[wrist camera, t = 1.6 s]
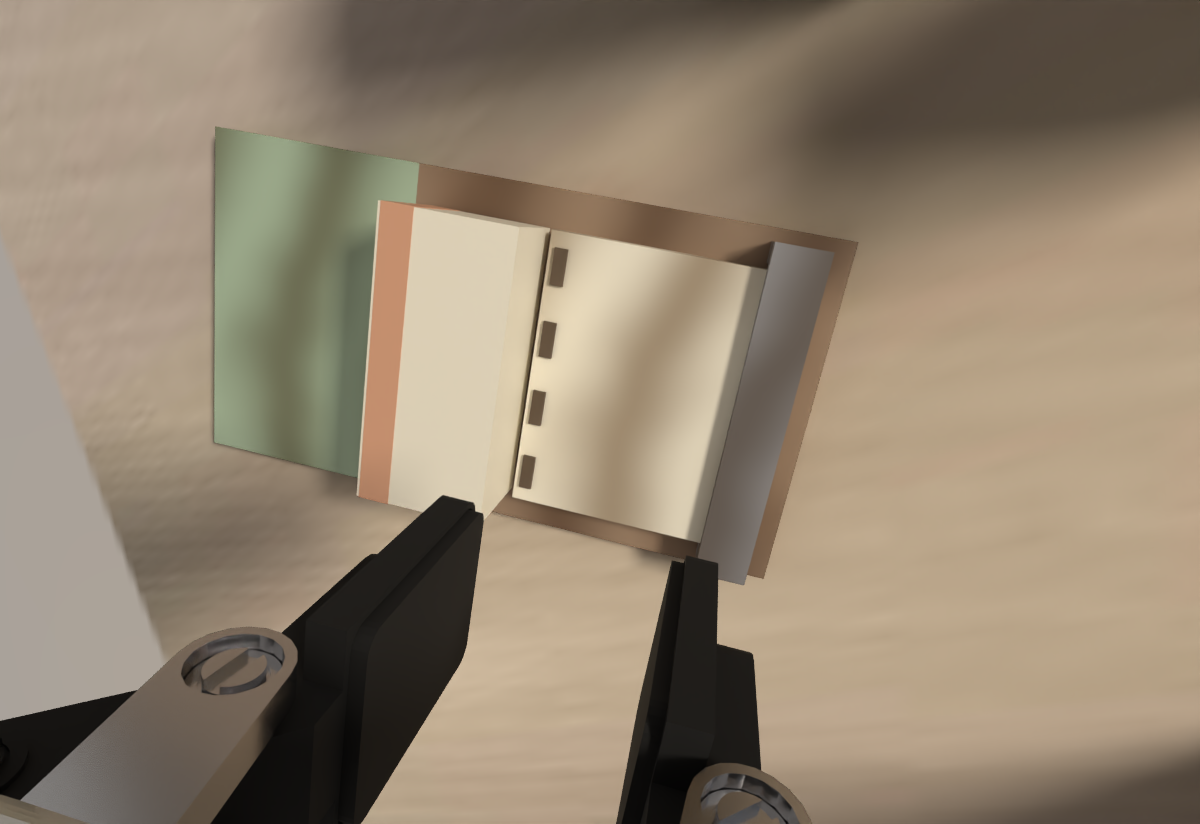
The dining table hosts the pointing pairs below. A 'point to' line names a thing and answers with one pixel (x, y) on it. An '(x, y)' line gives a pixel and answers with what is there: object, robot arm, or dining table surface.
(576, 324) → the board
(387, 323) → the stub
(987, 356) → the dining table surface
